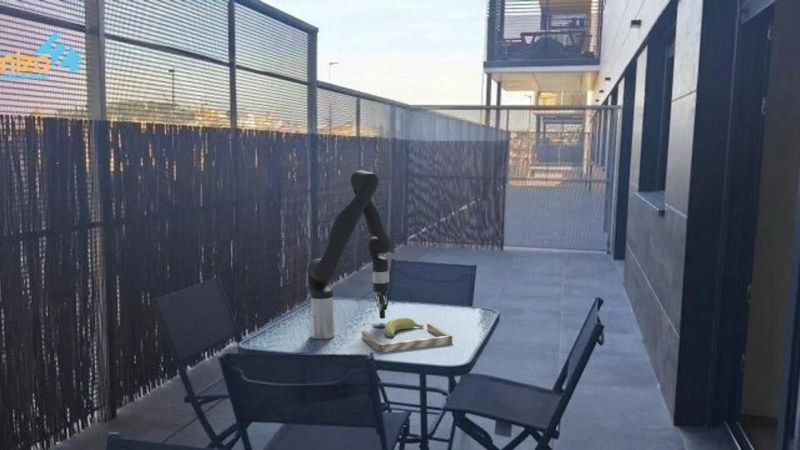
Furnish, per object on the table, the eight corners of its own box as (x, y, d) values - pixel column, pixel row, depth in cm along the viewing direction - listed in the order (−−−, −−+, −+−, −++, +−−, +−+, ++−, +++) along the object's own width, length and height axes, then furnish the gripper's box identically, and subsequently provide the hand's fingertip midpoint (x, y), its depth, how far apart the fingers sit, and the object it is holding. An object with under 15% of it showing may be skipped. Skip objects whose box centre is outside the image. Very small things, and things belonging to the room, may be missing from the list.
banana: (378, 315, 301) (419, 315, 309) (376, 326, 302) (417, 326, 311) (390, 330, 289) (432, 329, 298) (388, 342, 291) (430, 341, 299)
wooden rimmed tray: (379, 352, 270) (379, 345, 269) (362, 337, 292) (361, 330, 291) (452, 343, 280) (452, 336, 280) (430, 329, 302) (430, 323, 302)
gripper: (368, 279, 319) (370, 315, 321) (377, 284, 307) (378, 322, 309) (384, 277, 322) (385, 314, 324) (393, 282, 309) (394, 320, 311)
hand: (382, 318), depth 316 cm, fingers closed
